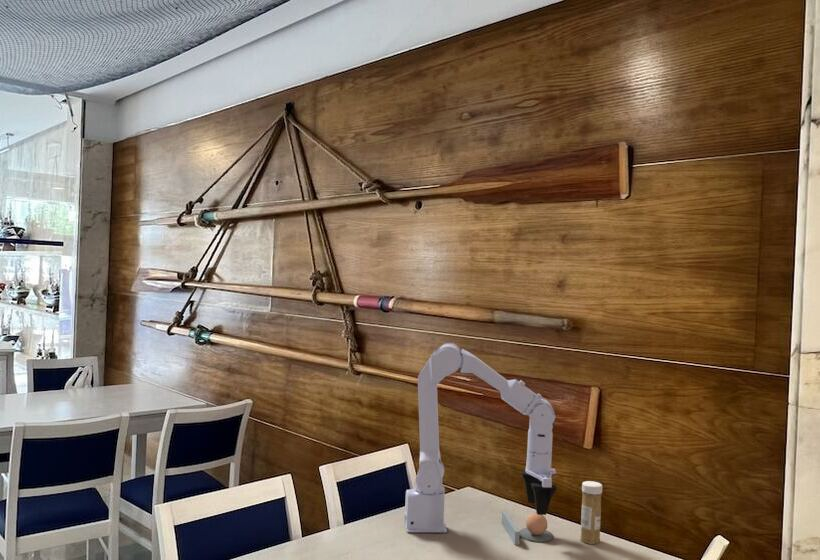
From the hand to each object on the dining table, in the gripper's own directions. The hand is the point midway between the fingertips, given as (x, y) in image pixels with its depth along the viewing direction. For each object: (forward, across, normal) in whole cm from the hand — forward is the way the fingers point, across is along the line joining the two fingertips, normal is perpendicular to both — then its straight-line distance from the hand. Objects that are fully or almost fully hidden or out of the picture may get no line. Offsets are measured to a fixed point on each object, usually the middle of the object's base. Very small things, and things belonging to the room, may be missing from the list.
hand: (536, 508), depth 156 cm
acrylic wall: (+6, +1, +6) cm, 9 cm away
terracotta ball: (+6, 0, 0) cm, 6 cm away
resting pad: (+6, 0, 0) cm, 6 cm away
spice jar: (+7, -3, -12) cm, 14 cm away
